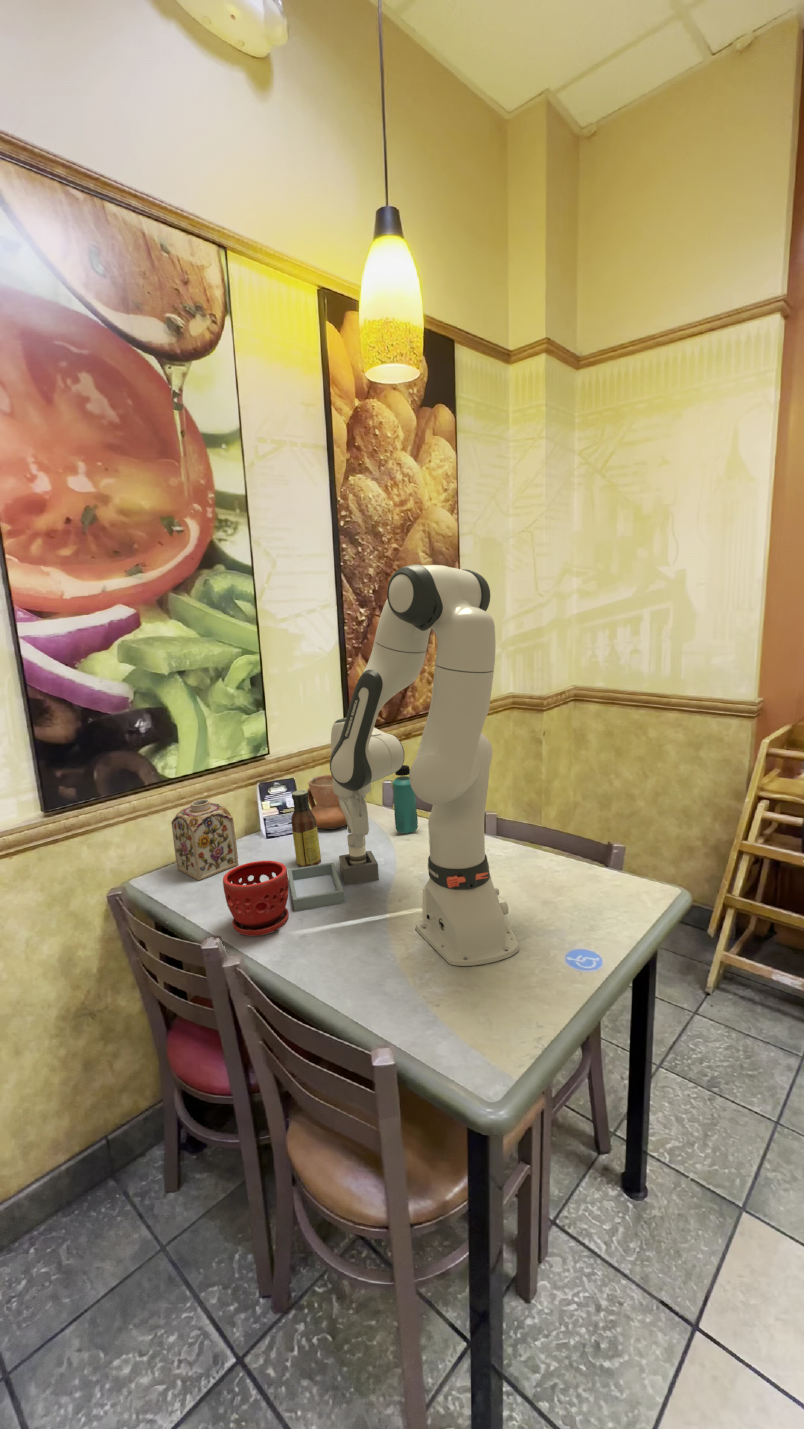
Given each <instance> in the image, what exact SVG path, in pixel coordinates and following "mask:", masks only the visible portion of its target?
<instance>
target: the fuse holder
mask: <svg viewBox="0 0 804 1429" xmlns="http://www.w3.org/2000/svg"><path fill="white" fill-rule="evenodd" d="M338 858H339V859H338V861H339V871H340V874H341V877H342V880H343V883H344V884H345V885H344V886H348V885H349V886H350V885H354V884H361V883H368V882H372V881H379V880H380V877H379V862H378V861H377V859H376V858H375V856H374V854H373V852H372V850H367V851H366V861H367V863H365V864H358V865H352V866H350V859H349V853H348V854H346V853H345V854H342V855H341V854H339V855H338Z"/></svg>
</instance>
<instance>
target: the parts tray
mask: <svg viewBox="0 0 804 1429" xmlns="http://www.w3.org/2000/svg"><path fill="white" fill-rule="evenodd" d="M287 874H288V884H289V887H290V893H291V894H290V895H291V899H292V904H293V911H294V912H299V911H301V910H303V911H304V910H308V909H309V910H310V909H314V908H315V909H316V908H320V907H321V908H322V907H324V906H331V905H337V904H343V903H346V902H345V900H346V899H345V891H344V888H343V885H342V883H341V879H340V877H339V875H338V871H337V869H336V866H335V864H334V862H327V863H322V864H321V863H320V864H318V865H314V866H308V867H297V868H296V867H295V868H290V869H287ZM327 875H328V876H329V875H331V876H332V880H333V882H334V886H335V888H336V890H335V891H327V892H323V893H317V894H312V895H307V896H299V897H297V893H296V887H295V882H294V881H297V880H302V879H309V878H315V877H321V876H327Z"/></svg>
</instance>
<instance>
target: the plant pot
mask: <svg viewBox="0 0 804 1429" xmlns="http://www.w3.org/2000/svg"><path fill="white" fill-rule="evenodd" d="M273 873H274V874H275V877H274V875H273ZM262 876H266V877H267V878H268V879H267V880H266V881H265V880H264V881H261V877H262ZM249 877H253V879H252V880H249ZM240 879H241V881H240ZM222 884H223V885H222V886H223V892H224V897H225V901H226V905H227V907H228V910H229V912H230V914H231V915H232V917H233V919H232V927H233V929H234V930H235V931H236V932H237V933H239V934H240V935H244V936H250V937H255V936H264V935H268V934H271V933H273V932H276V931H278V930H279V929H280V927H283V926H284V925H285V923H286V922H287V920H288V919H289V914H290V912H289V910H288V908H287V907H286V906H287V903H288V899H289V876H288V869H287V867H286V865H285V864H284V863H282V862H279V861H275V860H257V861H251V862H247V863H244V864H242V865H237V866H235V867H233V868H231V869H229V871H227V872H226V873H225V874H224V875H223V877H222Z"/></svg>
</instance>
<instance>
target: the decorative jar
mask: <svg viewBox="0 0 804 1429" xmlns="http://www.w3.org/2000/svg"><path fill="white" fill-rule="evenodd" d="M170 822H171V830H172V838H173V848H174V849H173V850H174V854H175V855H174V856H175V862H176V866H177V870H179V871H180V872H182V873H184V874H186V875H188V876H189V877H191V878H193V879H195V880H196V881H202V880H204V879H207V878H209V877H211V876H214V875H217V874H219V873H222V872H224V871H226V870H231V869H233V868H236V867H238V866H239V854H238V846H237V845H238V844H237V839H236V838H237V837H236V831H235V823H234V822H235V821H234V817H233V816H232V815H231V813H230V811H229V810H228V809H227V808H226V806H225V805H223V804H222V803H221V804H220V803H217V802H210V800H209V799H208V798H207V799H203V798H202V799H197V800H194V801H192V802H191V803H190V805H189V806H186V807H183V808H182V809H180V811H179V812H177V813H176V814H175V817H174V818H173V819H172V820H171V821H170Z"/></svg>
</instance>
